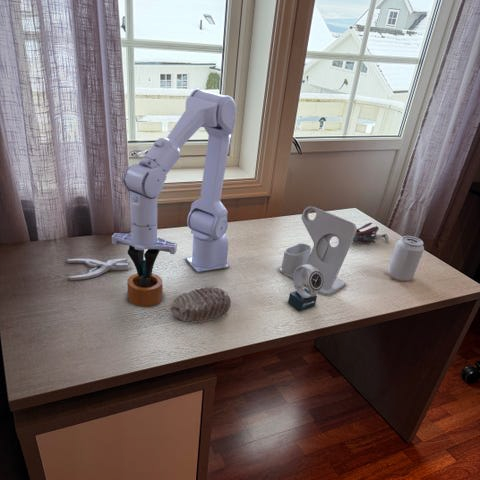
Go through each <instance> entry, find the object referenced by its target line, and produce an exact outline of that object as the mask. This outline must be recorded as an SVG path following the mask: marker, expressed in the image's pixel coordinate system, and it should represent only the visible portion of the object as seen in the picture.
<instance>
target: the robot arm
mask: <svg viewBox="0 0 480 480" xmlns="http://www.w3.org/2000/svg"><path fill="white" fill-rule="evenodd" d="M237 111H238V106H237V105H236V101H235V100H234V98H233V97H232V96H230V95H223V94H219V93H215V92H210V91H207V90H203V89H201V88H195V89H194V90H192V92H191V93H190V94H189V96H188V97H187V98H186V100H185V110H184V112H183V113H182V114H181V116H180V118H179V119H178V121H177V122H176V123H175V125H174V127H173V128H172V130H170V132H169V134H168V135H167V137H160V138H158V139H155V142H154V143H153V145H152V146H151V148H149V150H148V151H147V152H146V153H145V154H144V156H143V157H142V158H141V160H139V162H137V163H133V164H131V165H130V166H128V167H127V168H126V170H125V172H124V178H122V184H123V186H124V188H125V189H126V192H127V197H128V199H129V210H130V211H129V215H130V216H129V217H130V233H118V232H114V233H113V234H112V235H111V245H125V246H128V249H127V255H128V256H129V258H130V259H131V261H132V262H133V263H132V264H134V267H135V270H136V274H137V273H138V276H139V277H141V276H142V261H143V260H145V261H146V278H150V276H151V275H152V273H153V270H154V265H155V262H156V261H157V258H158V255H159V254H160V252H165V253H169V254H170V255H175V254H176V253H177V249H178V248H177V247H178V246H177V245H178V243H177V242H173V241H170V240H166V239H163V238H161V237H158V196H159V195H160V194H161V193H162V191H163V189H164V185H165V181H166V180H167V175H168V173H169V172H170V171H171V169H173V167H174V166H175V164H177V162H178V161H179V160H180V158H181V152H180V149H182V147H183V146H184V145H185V144H186V143H187V142H188V141H189V140H190V139H191V138H192V136H194V134H195V133H197V131H198V130H199V129H200V128H204V130H205V131H206V134H207V135H208V137H207V138H208V139H207V143H206V153H205V159H204V160H205V161H204V166H203V174H202V182H201V188H200V195H199V198H198V199H197V200H195V201H193V202H192V203H191V205H190V210H189V213H188V215H187V218H186V224H187V227H188V228H189V229H190V233H191V234H192V236H193V237H192V250H191V251H192V252H191V256H189V257H186V261H187V262H188V263H189V265H191V267H192V268H193V269H194V270H195V272H196V273H203V272H208V271H214V270H220V269H226V268H228V264H227V263H228V254H229V239H228V237H227V234H226V233H227V231H228V226H229V223H228V213H229V211H228V210H227V208H226V206H225V205H224V204H223V203H222V202H221V198H222V192H223V186H224V180H225V173H226V167H227V160H228V156H229V155H228V154H229V149H230V142H231V136H232V135H233V134H234V129H235V125H236V119H237ZM145 250H146V251H145Z"/></svg>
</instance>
